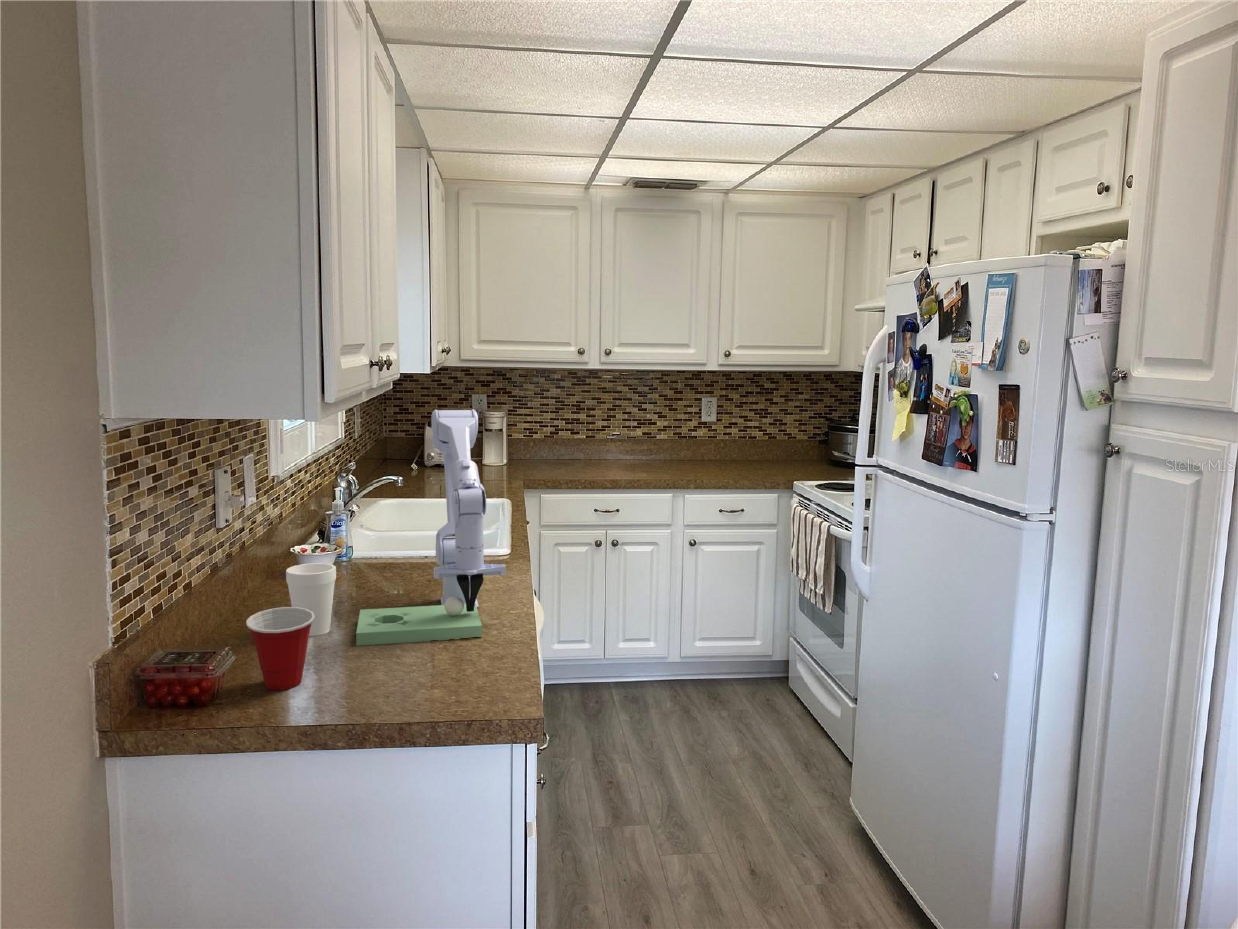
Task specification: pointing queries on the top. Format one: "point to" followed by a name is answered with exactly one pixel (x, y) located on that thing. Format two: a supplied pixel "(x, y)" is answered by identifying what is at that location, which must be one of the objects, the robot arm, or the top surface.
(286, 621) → the plastic cup
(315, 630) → the foam cup
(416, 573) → the top surface
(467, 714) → the top surface
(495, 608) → the top surface
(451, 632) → the putting mat
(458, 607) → the ball
